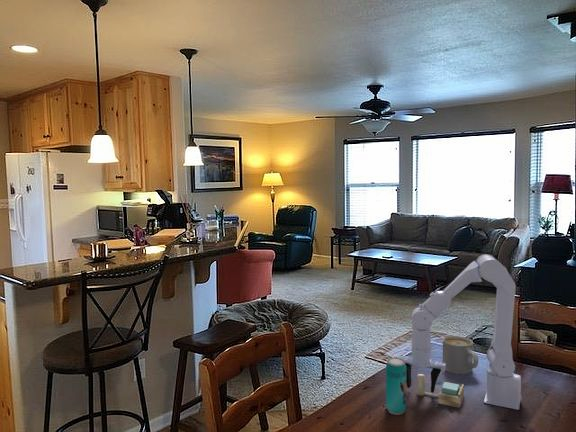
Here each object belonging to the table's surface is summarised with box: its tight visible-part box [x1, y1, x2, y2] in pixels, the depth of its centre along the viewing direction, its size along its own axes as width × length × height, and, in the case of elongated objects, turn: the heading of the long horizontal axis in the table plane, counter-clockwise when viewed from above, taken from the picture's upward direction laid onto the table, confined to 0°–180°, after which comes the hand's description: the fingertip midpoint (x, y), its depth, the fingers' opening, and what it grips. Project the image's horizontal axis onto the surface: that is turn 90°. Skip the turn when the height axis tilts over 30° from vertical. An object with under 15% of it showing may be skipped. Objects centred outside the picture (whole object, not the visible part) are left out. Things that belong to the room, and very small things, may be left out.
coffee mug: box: [442, 335, 479, 375], centre depth 165 cm, size 13×10×10 cm
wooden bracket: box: [437, 383, 465, 408], centre depth 144 cm, size 6×8×4 cm
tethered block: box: [416, 373, 460, 398], centre depth 146 cm, size 12×4×6 cm, turn 61°
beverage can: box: [385, 357, 407, 416], centre depth 137 cm, size 6×6×15 cm
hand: (420, 388), depth 148 cm, fingers open, 7 cm apart
